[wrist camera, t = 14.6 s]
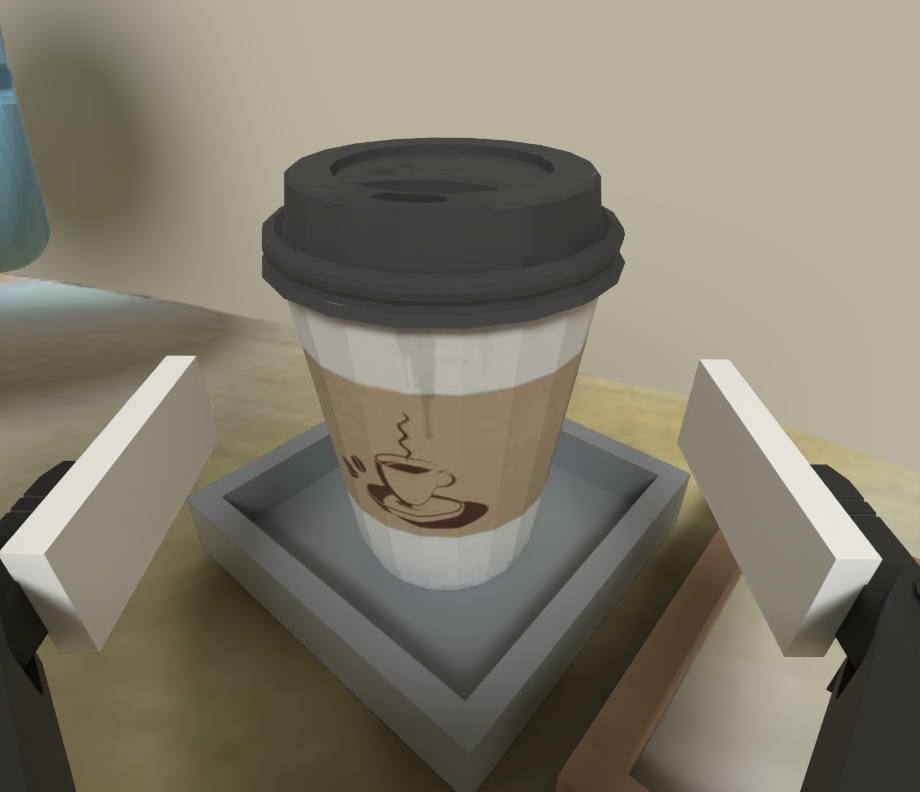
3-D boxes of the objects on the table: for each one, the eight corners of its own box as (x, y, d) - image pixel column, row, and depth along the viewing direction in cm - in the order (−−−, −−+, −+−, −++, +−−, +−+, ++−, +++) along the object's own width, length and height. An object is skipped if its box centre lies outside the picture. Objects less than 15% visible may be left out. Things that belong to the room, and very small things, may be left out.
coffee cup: (266, 612, 22) (151, 205, 14) (366, 432, 31) (333, 127, 23) (574, 668, 20) (656, 236, 12) (582, 459, 29) (630, 138, 21)
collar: (547, 824, 17) (558, 774, 15) (728, 534, 26) (747, 484, 25) (1361, 1556, 9) (1568, 1619, 7) (1202, 764, 18) (1277, 714, 17)
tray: (203, 549, 25) (186, 498, 24) (435, 403, 35) (434, 359, 33) (468, 803, 17) (469, 753, 16) (675, 523, 27) (690, 473, 25)
